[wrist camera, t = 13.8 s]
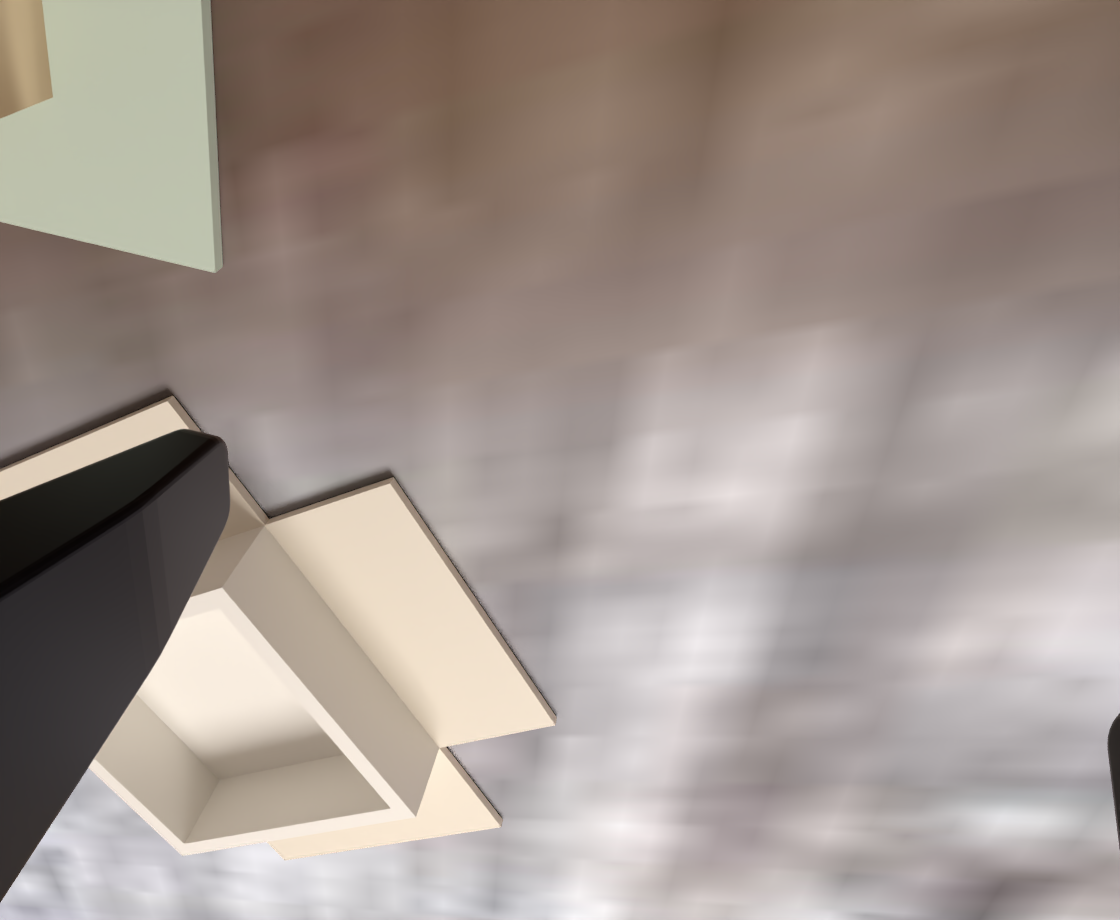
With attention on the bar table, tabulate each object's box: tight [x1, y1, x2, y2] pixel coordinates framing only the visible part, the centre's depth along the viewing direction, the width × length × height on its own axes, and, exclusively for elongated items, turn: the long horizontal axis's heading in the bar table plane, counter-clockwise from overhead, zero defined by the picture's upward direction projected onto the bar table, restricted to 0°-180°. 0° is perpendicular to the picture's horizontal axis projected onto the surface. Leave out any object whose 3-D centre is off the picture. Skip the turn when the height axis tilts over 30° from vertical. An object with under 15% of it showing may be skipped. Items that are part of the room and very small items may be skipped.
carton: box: [0, 396, 557, 860], centre depth 30 cm, size 19×19×3 cm
